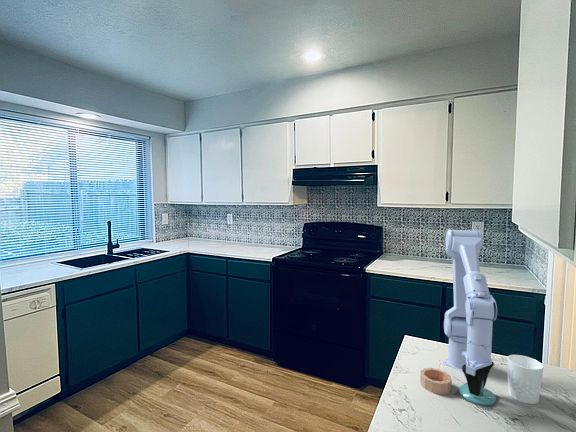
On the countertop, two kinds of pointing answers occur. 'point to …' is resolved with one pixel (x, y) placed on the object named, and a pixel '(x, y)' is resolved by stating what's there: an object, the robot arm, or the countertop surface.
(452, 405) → the countertop surface
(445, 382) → the bowl
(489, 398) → the lid
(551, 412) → the countertop surface
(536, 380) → the white cup
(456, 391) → the mat
